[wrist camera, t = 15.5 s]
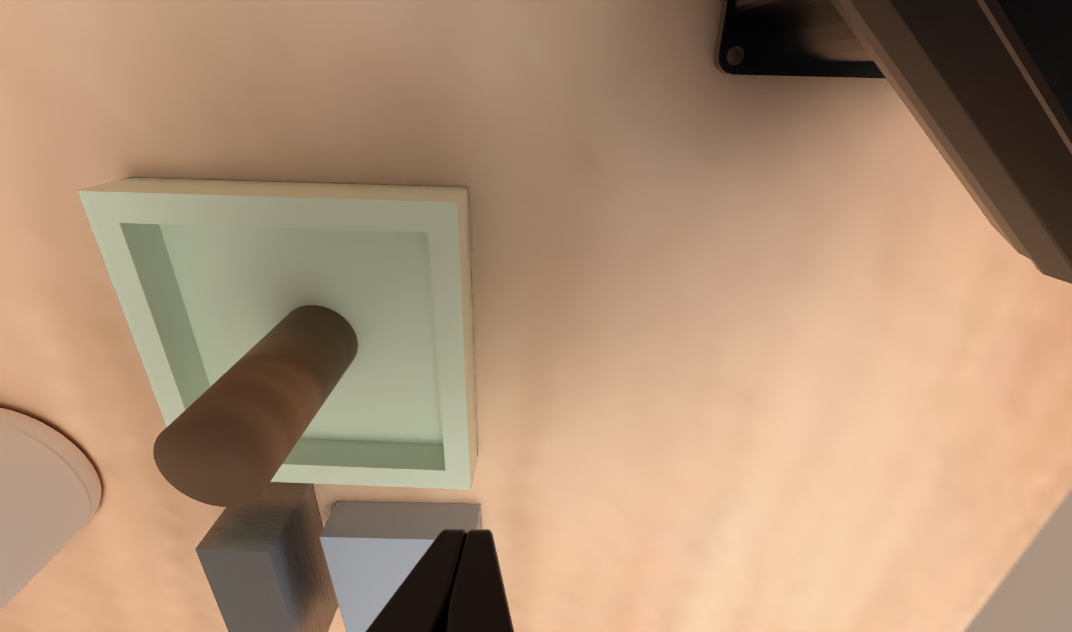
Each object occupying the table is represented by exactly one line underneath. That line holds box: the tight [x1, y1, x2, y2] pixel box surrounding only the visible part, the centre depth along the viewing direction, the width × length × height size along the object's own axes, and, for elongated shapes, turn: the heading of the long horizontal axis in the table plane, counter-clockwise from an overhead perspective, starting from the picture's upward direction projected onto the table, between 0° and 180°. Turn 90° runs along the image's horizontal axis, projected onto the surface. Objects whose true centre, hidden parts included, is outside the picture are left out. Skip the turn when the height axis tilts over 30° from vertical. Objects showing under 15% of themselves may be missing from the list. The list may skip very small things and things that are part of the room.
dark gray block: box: [196, 482, 339, 632], centre depth 24 cm, size 3×9×4 cm, turn 179°
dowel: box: [154, 305, 358, 507], centre depth 17 cm, size 3×3×7 cm
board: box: [320, 501, 482, 632], centre depth 25 cm, size 7×7×2 cm
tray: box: [77, 177, 478, 490], centre depth 19 cm, size 12×12×2 cm
